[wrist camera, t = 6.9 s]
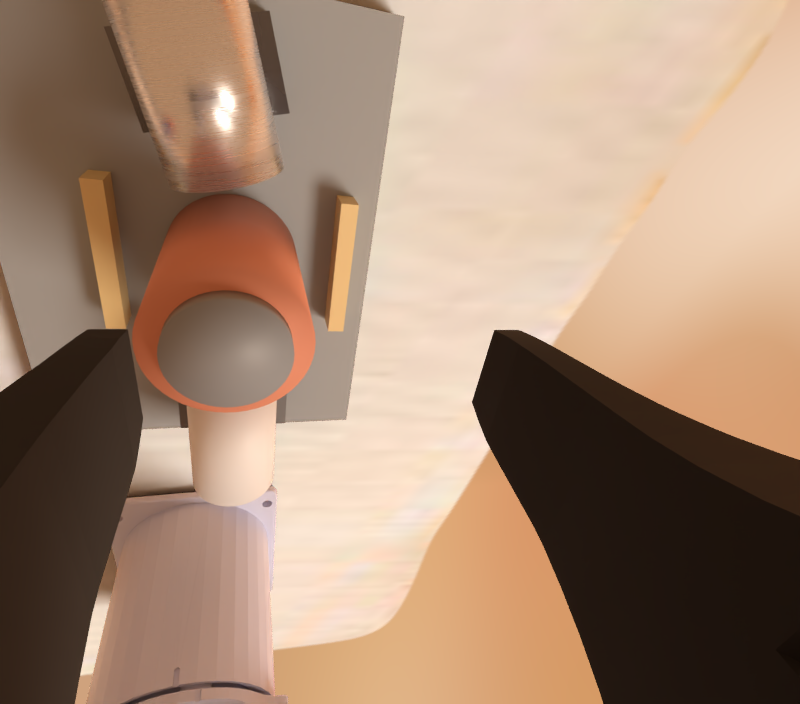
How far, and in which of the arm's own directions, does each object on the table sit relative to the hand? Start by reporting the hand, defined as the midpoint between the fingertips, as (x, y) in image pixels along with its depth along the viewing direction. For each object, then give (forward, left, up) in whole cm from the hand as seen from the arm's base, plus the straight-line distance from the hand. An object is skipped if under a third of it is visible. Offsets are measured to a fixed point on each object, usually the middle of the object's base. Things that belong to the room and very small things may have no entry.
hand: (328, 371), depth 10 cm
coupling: (-1, +2, -9) cm, 9 cm away
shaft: (+4, +3, -10) cm, 11 cm away
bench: (-1, +3, -10) cm, 11 cm away
